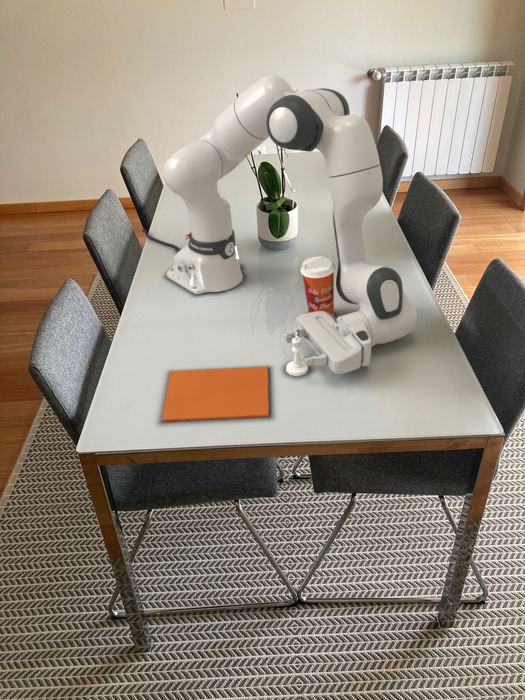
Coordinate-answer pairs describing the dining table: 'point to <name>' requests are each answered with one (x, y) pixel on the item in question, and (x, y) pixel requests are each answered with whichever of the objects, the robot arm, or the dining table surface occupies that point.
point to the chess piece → (296, 360)
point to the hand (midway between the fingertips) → (295, 350)
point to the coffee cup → (319, 284)
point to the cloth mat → (217, 394)
